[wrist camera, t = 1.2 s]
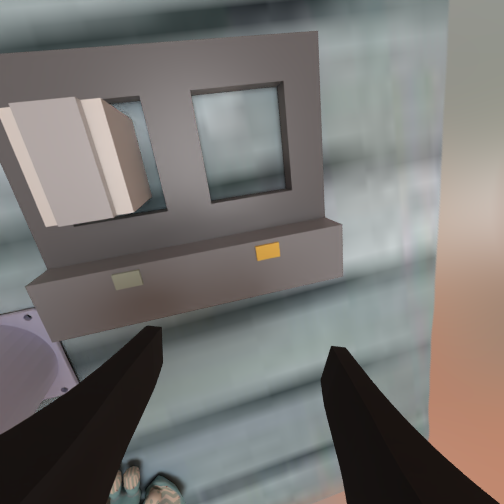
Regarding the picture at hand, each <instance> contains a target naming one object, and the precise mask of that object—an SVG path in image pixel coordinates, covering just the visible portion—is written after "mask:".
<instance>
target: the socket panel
mask: <svg viewBox="0 0 504 504" xmlns="http://www.w3.org/2000/svg"><path fill="white" fill-rule="evenodd" d="M276 86H277V91H278V103H279V114H280V126H281V137H282V149H283V160H284V172H285V183H286V189H280V190H274V191H268V192H262V193H256V194H250V195H244V196H238V197H232V198H226V199H220V200H214V201H211V199H210V194H209V188H208V183H207V178H206V172H205V167H204V162H203V156H202V151H201V146H200V140H199V135H198V130H197V124H196V119H195V114H194V108H193V103H192V98H191V95H200V94H209V93H219V92H229V91H238V90H248V89H257V88H267V87H276ZM67 97H76V98H78V99H80V100H85V99H94V98H101V99H103V100H104V101H106V102H107V103H108V104H114V103H123V102H133V101H141V104H142V108H143V112H144V116H145V120H146V125H147V129H148V133H149V137H150V141H151V145H152V149H153V153H154V157H155V161H156V165H157V169H158V173H159V177H160V181H161V185H162V189H163V193H164V197H165V201H166V205H167V208H166V209H160V210H154V211H148V212H142V213H136V214H130V215H124V216H118V217H114V218H109V219H103V220H97V221H91V222H85V223H79V224H73V225H67V226H61V227H58V225H55V226H49V227H46V226H45V224H44V221H43V219H42V217H41V214H40V212H39V210H38V207H37V205H36V202H35V200H34V198H33V195H32V193H31V191H30V188H29V186H28V183H27V181H26V179H25V176H24V174H23V171H22V169H21V167H20V164H19V162H18V160H17V157H16V155H15V152H14V150H13V148H12V145H11V143H10V141H9V138H8V136H7V133H6V131H5V129H4V126H3V124H2V122H1V119H0V163H1V165H2V168H3V170H4V172H5V174H6V177H7V179H8V181H9V183H10V186H11V188H12V190H13V192H14V195H15V197H16V199H17V201H18V204H19V206H20V208H21V210H22V213H23V215H24V217H25V219H26V222H27V224H28V226H29V229H30V231H31V233H32V235H33V238H34V240H35V242H36V244H37V247H38V249H39V251H40V253H41V256H42V258H43V260H44V262H45V265H46V267H47V269H48V270H47V271H45V272H44V273H43V274H41V275H40V276H39V277H37V278H36V279H35V280H33V281H32V282H31V283H29V284H28V285H27V286H25V288H26V290H27V292H28V294H29V296H30V298H31V300H32V302H33V304H34V306H35V308H36V310H37V312H38V314H39V317H40V319H41V321H42V323H43V325H44V327H45V329H46V331H47V333H48V335H49V337H50V339H51V341H52V343H53V342H58V341H62V340H67V339H71V338H75V337H80V336H84V335H89V334H93V333H97V332H102V331H106V330H110V329H115V328H119V327H124V326H128V325H132V324H137V323H141V322H145V321H150V320H154V319H159V318H163V317H167V316H172V315H176V314H180V313H185V312H189V311H194V310H198V309H202V308H207V307H211V306H215V305H220V304H224V303H229V302H233V301H237V300H242V299H246V298H251V297H255V296H259V295H264V294H268V293H272V292H277V291H281V290H286V289H290V288H294V287H299V286H303V285H307V284H312V283H316V282H321V281H325V280H329V279H334V278H338V277H342V276H343V240H342V224H340V223H337V222H335V221H332V220H330V219H328V218H325V208H324V181H323V155H322V128H321V102H320V76H319V49H318V31H309V32H295V33H282V34H268V35H254V36H240V37H227V38H213V39H199V40H185V41H172V42H158V43H144V44H130V45H117V46H103V47H89V48H75V49H62V50H48V51H34V52H20V53H7V54H0V108H5V107H10V106H9V104H8V103H16V102H26V101H36V100H46V99H57V98H67Z"/></svg>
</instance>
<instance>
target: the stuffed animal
mask: <svg viewBox="0 0 504 504" xmlns="http://www.w3.org/2000/svg"><path fill="white" fill-rule="evenodd" d="M123 476H124V486H123V487H122V475H121V470H118V473H117V475H116V478H115V481H114V484H113V486H112V489H111V492H110V495H109V498H108V500H107V503H106V504H139V503H140V498H141V491H140V488H139V485H140V471H139V467H136V466H132V467H130V468H128V469H127V470H126V471H125V473H124V474H123ZM143 504H186V502H185V500H184V499H183V497H182V495H181V494H180V492H179V490H178V489H177V487H176V485H175V484H173V483H172V482H170V481H169V480H167V479H166V478H164V477H162V476H157V477H156V479H155V480H154V481H153V482H152V483H151V484H150V485H149V486H148V487H147V488H146V493H145V500H144V502H143Z"/></svg>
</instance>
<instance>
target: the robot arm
mask: <svg viewBox="0 0 504 504" xmlns="http://www.w3.org/2000/svg"><path fill="white" fill-rule="evenodd" d="M27 315H31V317H32V318H29V317H28V316H27ZM162 364H163V350H162V327H155V326H146V327H145V328H144V329H142V330H141V331H140V332H139V333H138V334H137V335H136V336H135V337H134V338H133V339H131V340H130V341H129V342H128V343H127V344H126V345H125V346H124V347H123V348H121V349H120V350H119V351H118V352H117V353H116V354H115V355H113V356H112V357H111V358H110V359H109V360H108V361H106V362H105V363H104V364H103V365H102V366H100V367H99V368H98V369H97V370H95V371H94V372H93V373H91V374H90V375H89V376H88V377H86V378H85V379H84V380H83V381H81V382H80V383H79V382H78V380H77V378H76V376H75V374H74V372H73V370H72V367H71V365H70V363H69V361H68V359H67V357H66V355H65V353H64V351H63V348H62V346H61V344H60V342H59V341H58V342H53V343H52V341H51V339H50V337H49V335H48V333H47V331H46V329H45V327H44V325H43V323H42V321H41V319H40V317H39V314H38V312H37V310H36V308H32V309H27V310H22V311H17V312H12V313H8V314H3V315H0V504H106V503H107V500H108V498H109V495H110V492H111V489H112V486H113V484H114V481H115V478H116V475H117V473H118V470H119V467H120V464H121V462H122V459H123V457H124V454H125V452H126V449H127V447H128V445H129V443H130V440H131V438H132V436H133V434H134V432H135V430H136V427H137V425H138V423H139V421H140V419H141V417H142V414H143V412H144V410H145V408H146V406H147V404H148V401H149V399H150V397H151V395H152V393H153V390H154V388H155V385H156V383H157V380H158V377H159V374H160V371H161V367H162ZM63 387H66V388H67V389H65V388H63ZM321 387H322V395H323V402H324V407H325V411H326V415H327V419H328V423H329V427H330V431H331V435H332V439H333V442H334V446H335V450H336V454H337V458H338V462H339V466H340V470H341V474H342V479H343V484H344V490H345V495H346V501H347V504H499V503H498V502H497V501H496V500H495V499H493V498H492V497H491V496H490V495H488V494H487V493H486V492H484V491H483V490H482V489H481V488H480V487H479V486H477V485H476V484H475V483H474V482H473V481H471V480H470V479H469V478H468V477H467V476H465V475H464V474H463V473H462V472H461V471H460V470H459V469H458V468H456V467H455V466H454V465H453V464H452V463H451V462H449V461H448V460H447V459H446V458H445V457H444V456H443V455H442V454H441V453H440V452H439V451H437V450H436V449H435V448H434V447H433V446H432V445H431V444H430V443H429V442H428V441H427V440H426V439H425V438H424V437H423V436H422V435H421V434H420V433H419V432H418V431H417V430H416V429H415V428H414V427H413V426H412V425H411V424H410V423H409V422H408V421H407V420H406V419H405V418H404V417H403V416H402V415H401V413H400V412H399V411H398V410H397V409H396V408H395V407H394V406H393V405H392V404H391V403H390V401H389V400H388V399H387V398H386V397H385V396H384V395H383V393H382V392H381V391H380V390H379V389H378V387H377V386H376V385H375V384H374V383H373V381H372V380H371V379H370V378H369V376H368V375H367V374H366V373H365V371H364V370H363V369H362V368H361V366H360V365H359V364H358V363H357V361H356V360H355V359H354V358H353V356H352V355H351V354H350V353H349V351H348V350H347V349H346V348H345V347H336V346H331V348H330V352H329V355H328V358H327V361H326V364H325V367H324V371H323V374H322V377H321ZM61 395H62V396H61ZM57 396H61V397H59V398H58V399H56V400H55V401H53V402H52V403H50V404H49V405H47V406H46V407H44V408H43V409H41V410H40V411H38V412H37V413H35V411H36V410H37V408H38V407H39V405H40V403H41V402H42V400H45V399H49V398H53V397H57ZM34 413H35V414H34Z"/></svg>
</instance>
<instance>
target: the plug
mask: <svg viewBox="0 0 504 504" xmlns="http://www.w3.org/2000/svg"><path fill="white" fill-rule="evenodd" d="M8 104H9V106H10V107H5V108H0V119H1V122H2V124H3V126H4V129H5V131H6V133H7V136H8V138H9V141H10V143H11V145H12V148H13V150H14V152H15V155H16V157H17V160H18V162H19V164H20V167H21V169H22V171H23V174H24V176H25V179H26V181H27V183H28V186H29V188H30V191H31V193H32V195H33V198H34V200H35V202H36V205H37V207H38V210H39V212H40V214H41V217H42V219H43V221H44V224H45V226H46V227H49V226H55V225H58V227H61V226H67V225H73V224H79V223H85V222H91V221H97V220H103V219H109V218H114V217H115V216H117V215H122V214H128V213H134V212H135V211H136V210H137V209H138V208H140V207H141V206H142V205H143V204H144V203H145V202H146V201H147V200H149V199H150V198H151V197H152V194H151V190H150V187H149V183H148V179H147V175H146V171H145V168H144V164H143V160H142V156H141V152H140V149H139V145H138V141H137V137H136V133H135V130H134V126H133V122H132V119H130V118H129V117H127V116H126V115H125V114H123V113H122V112H120V111H119V110H117V109H116V108H114V107H113V106H111V105H110V104H108V103H107V102H106V101H104V100H103V99H101V98H94V99H85V100H80V99H78V98H76V97H67V98H57V99H46V100H36V101H26V102H16V103H8Z"/></svg>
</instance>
